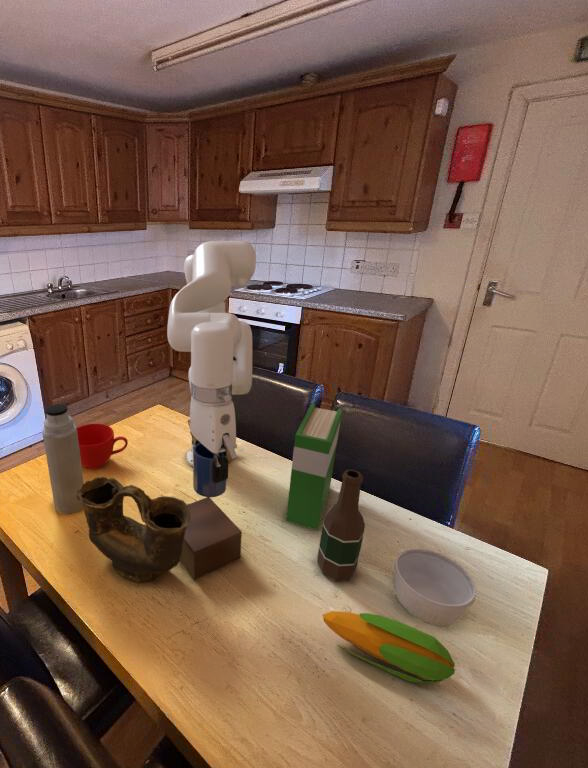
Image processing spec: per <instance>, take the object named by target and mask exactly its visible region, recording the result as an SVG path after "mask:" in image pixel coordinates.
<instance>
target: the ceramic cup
mask: <svg viewBox="0 0 588 768" xmlns="http://www.w3.org/2000/svg"><path fill="white" fill-rule="evenodd" d="M77 434H78V442H79V450H80V458H81V465H82V467H84V468H86V469H88V470H96V469H97V470H98V469H101V468H102V467H104V466H105V465H106V463H108V461H109V460H110V458H111V456H112V455H116V454H119V453H122V452H123V451H125V449H127V447H128V443H129V441H128V439H127V438H126V437H125V436H116V437H115V431H114V429H113V428H112V427H111V426H109V425H108V424H104V423H88V424H84V425H83V424H82V425H80V426H78V427H77ZM118 441H124V443H125V444H124V445H123V446H122V447H121V448H118V449H116V450H114V446H115V444H116V443H117V442H118Z"/></svg>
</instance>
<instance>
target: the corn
mask: <svg viewBox="0 0 588 768" xmlns="http://www.w3.org/2000/svg"><path fill="white" fill-rule="evenodd" d="M322 619H323V623H325V625H326V626H327V627H328V629H330V630H331V631H332V632H334V633H335V634H336V635H337V636H338V637H340V638H341V639H342V640H345V641H346V642H348V643H349V644H352V645H353V646H355V647H357V648H358V649H360V650H362V651H363V652H365V653H367V654H368V655H370V656H372V657H374V658H376V659H378V660H381V661H382V662H385V663H387V664H389V665H391V666H393V667H396V668H398V669H400V670H402V671H404V672H406V673H409V674H411V675H413V676H415V677H413V676H410V675H407V674H405V673H403V672H400V671H397V670H396V669H392V668H390V667H388V666H384V665H382V664H379V663H377V662H375V661H372V660H370V659H368V658H365V657H364V656H361V655H359V654H357V653H355V652H353V651H351V650H349V649H347V648H345V647H344V646H341V645H339V644H336V646H337V647H338V648H340V649H342V650H344V651H345V652H347V653H349V654H351V655H352V656H354V657H356V658H358V659H360V660H363V661H364V662H366V663H368V664H371V665H373V666H374V667H377V668H380V669H382V670H384V671H385V672H388V673H389V674H392V675H394V676H396V677H398V678H401V679H403V680H404V681H406V682H409V683H413V684H425V685H434V684H438V683H440V682H442V681H445V680H448V679H449V678H451V677H453V675H455V672H456V668H455V667H456V663H455V661H454V659H453V657H452V655H451V653H450V651H449V650H448V649H447V648H446V647H445V645H443V644H442V643H441V642H440V641H439V640H438V639H437V638H436V637H435V636H433V635H432V634H431V635H430V634H428V633H426V632H424V631H421V630H419V629H417V628H415V627H413V626H410V625H408V624H406V623H404V622H401V621H399V620H396V619H393V618H391V617H387V616H383V615H380V614H374V613H368V612H367V613H366V612H360V613H355V612H348V611H338V610H337V611H336V610H332V611H328V612H326V613H323V614H322ZM416 677H419V678H423V679H422V680H421V679H418V678H416Z"/></svg>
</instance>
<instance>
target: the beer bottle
mask: <svg viewBox="0 0 588 768" xmlns="http://www.w3.org/2000/svg"><path fill="white" fill-rule="evenodd" d="M341 478H342V482H341V485H340V490H339V493H338V497H337V500H336V502H335V503H334V504H332V506H331V507H330V509H329V510H328V511H327V512H326V514H325V515H324V518H323V522H322V527H321V533H320V540H319V545H318V551H317V561H316V562H317V565H318V567H319V569H320V571H321V574H322V575H324V576H325V577H326V578H329V579H331V580H333V581H334V582H349V581H351V579H352V578H353V576H354V574H355V573H356V570H357V568H358V563H359V559H360V554H361V549H362V545H363V540H364V536H365V530H366V523H365V519H364V516H363V515H362V513H361V511H360V504H359V503H360V496H361V486H362V483H363V481H364V476H363V474H362V473H361V472H360V471H358V470H355V469H346V470H345V471H344V472H343V473H342V475H341Z"/></svg>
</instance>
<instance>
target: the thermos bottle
mask: <svg viewBox="0 0 588 768" xmlns="http://www.w3.org/2000/svg"><path fill="white" fill-rule="evenodd" d="M45 413H46V419H45V420H44V422H43V429H42V431H41V433H42V439H43V444H44V450H45V457H46V464H47V468H48V474H49V482H50V486H51V492H52V500H53V506H54V509H55V510H56V511H57V513H59V514H65V515H69V514H75V513H77V512H79V511H80V510H82V509H84V508H83V505H82V504H81V502H80V501H79V500H78V499H77V494H78V490H80V489H81V488H82V485H83V484H85V481H84V474H83V465H81V458H80V450H79V442H78V434H77V428H78V427H77V425H76V423H74V418H73V417H72V416H71V415H70V414H69V412H68V406H67V405H66V404H64V403H56V404H55V403H54V404H52V405H48V406H47V407H46V408H45Z"/></svg>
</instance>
